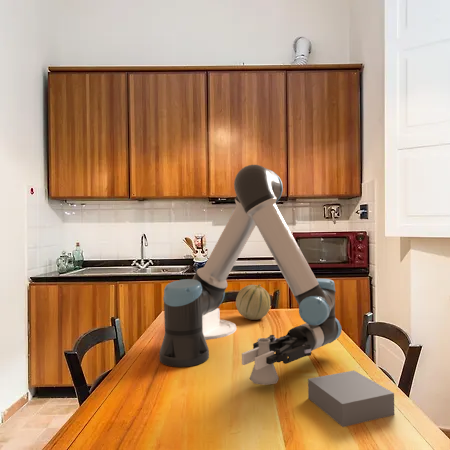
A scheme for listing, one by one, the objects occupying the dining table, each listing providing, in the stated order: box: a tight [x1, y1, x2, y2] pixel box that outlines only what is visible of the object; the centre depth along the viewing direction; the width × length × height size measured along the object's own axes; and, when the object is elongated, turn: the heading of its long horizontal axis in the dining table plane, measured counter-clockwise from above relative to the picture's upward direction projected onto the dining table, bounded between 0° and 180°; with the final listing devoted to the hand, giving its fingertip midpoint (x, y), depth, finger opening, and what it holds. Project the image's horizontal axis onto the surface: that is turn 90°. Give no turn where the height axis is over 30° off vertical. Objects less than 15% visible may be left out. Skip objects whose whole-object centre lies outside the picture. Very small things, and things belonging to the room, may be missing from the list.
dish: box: [202, 307, 237, 341], centre depth 145 cm, size 25×25×11 cm
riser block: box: [307, 370, 395, 428], centre depth 83 cm, size 13×13×5 cm
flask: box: [249, 337, 279, 386], centre depth 93 cm, size 7×7×10 cm
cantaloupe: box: [235, 283, 271, 321], centre depth 159 cm, size 15×15×15 cm
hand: (249, 361), depth 89 cm, fingers closed on flask, 3 cm apart
